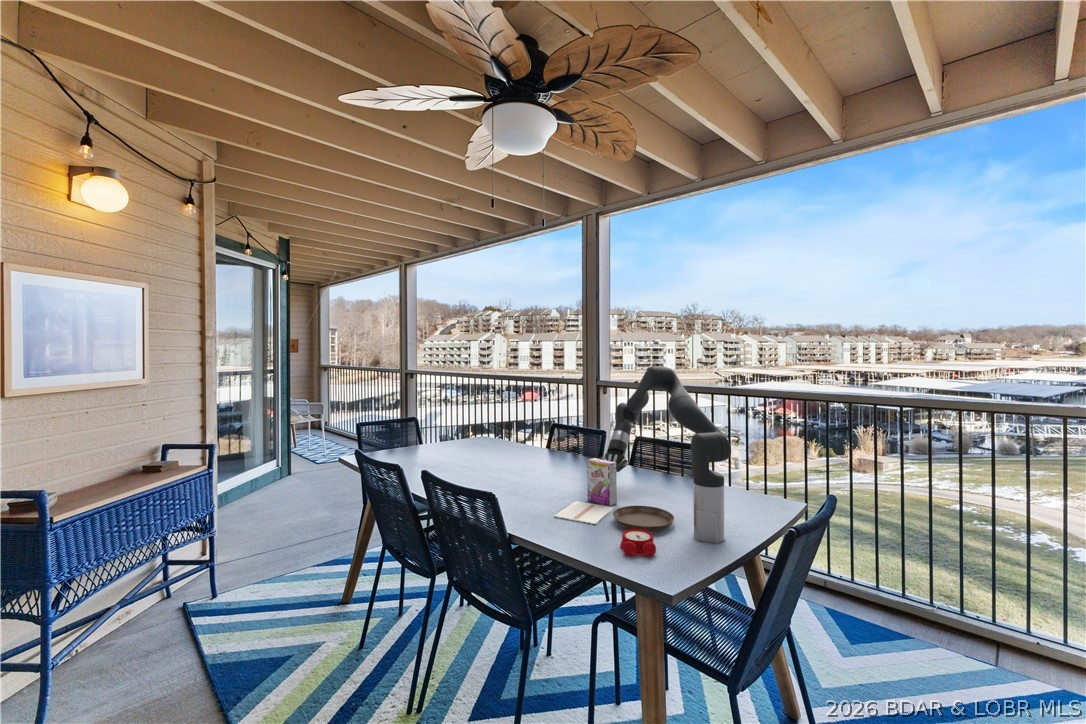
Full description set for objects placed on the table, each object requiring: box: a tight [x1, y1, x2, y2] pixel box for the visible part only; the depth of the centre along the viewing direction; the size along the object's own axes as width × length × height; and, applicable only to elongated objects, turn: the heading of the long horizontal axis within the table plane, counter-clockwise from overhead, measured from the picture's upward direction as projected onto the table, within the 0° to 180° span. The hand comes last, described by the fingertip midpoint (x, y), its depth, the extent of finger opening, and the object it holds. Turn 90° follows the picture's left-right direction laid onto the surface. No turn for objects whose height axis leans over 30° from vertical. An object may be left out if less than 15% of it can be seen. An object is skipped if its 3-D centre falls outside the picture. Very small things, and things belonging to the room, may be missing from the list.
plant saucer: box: [612, 505, 675, 533], centre depth 161 cm, size 21×21×3 cm
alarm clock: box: [619, 529, 657, 558], centre depth 140 cm, size 10×6×15 cm
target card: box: [554, 500, 615, 525], centre depth 172 cm, size 18×16×1 cm
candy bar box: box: [586, 457, 618, 507], centre depth 184 cm, size 11×5×16 cm, turn 44°
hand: (608, 479), depth 190 cm, fingers closed
